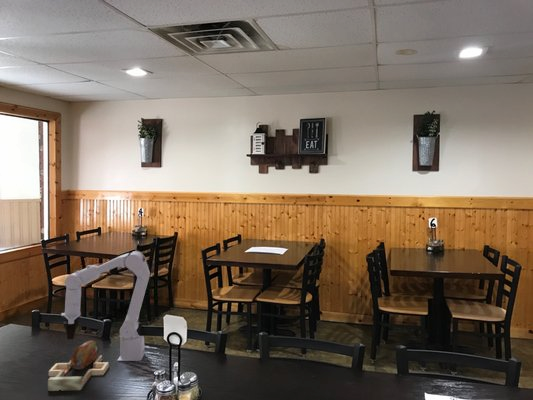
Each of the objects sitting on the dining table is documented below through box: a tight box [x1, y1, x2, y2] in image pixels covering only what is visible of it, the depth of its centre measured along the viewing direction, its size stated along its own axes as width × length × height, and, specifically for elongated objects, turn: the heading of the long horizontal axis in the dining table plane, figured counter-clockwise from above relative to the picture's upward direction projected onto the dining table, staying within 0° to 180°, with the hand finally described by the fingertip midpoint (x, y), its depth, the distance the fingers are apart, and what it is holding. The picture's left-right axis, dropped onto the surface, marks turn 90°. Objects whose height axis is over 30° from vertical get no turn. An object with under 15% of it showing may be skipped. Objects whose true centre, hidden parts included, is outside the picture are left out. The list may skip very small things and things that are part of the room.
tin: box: [70, 340, 100, 370], centre depth 173 cm, size 15×3×8 cm, turn 168°
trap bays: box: [48, 361, 110, 377], centre depth 166 cm, size 20×7×2 cm, turn 94°
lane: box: [47, 354, 103, 392], centre depth 164 cm, size 11×26×4 cm, turn 4°
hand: (71, 335), depth 177 cm, fingers open, 7 cm apart
